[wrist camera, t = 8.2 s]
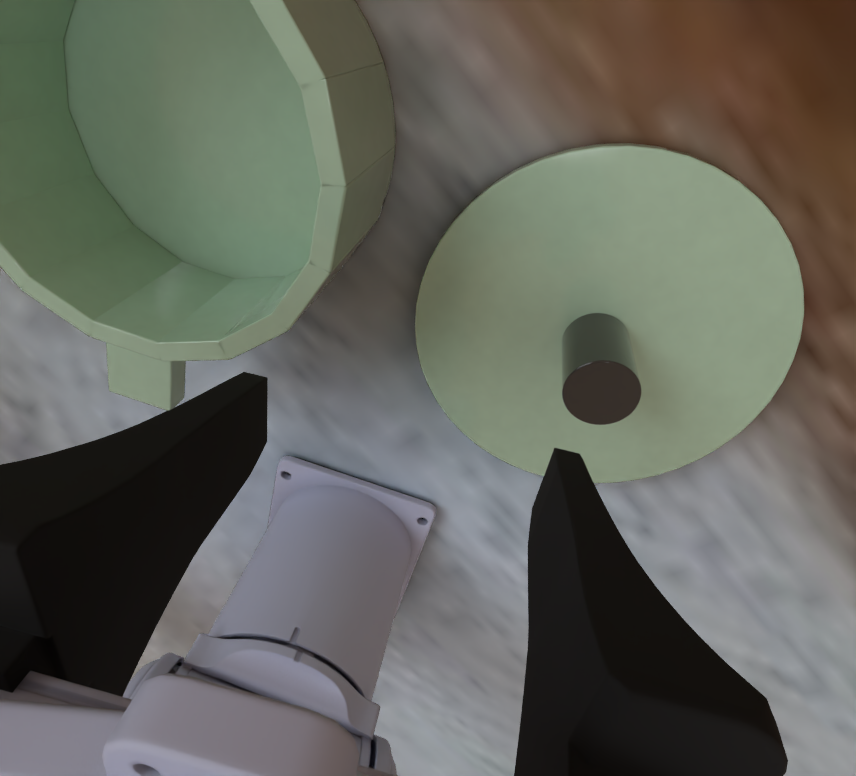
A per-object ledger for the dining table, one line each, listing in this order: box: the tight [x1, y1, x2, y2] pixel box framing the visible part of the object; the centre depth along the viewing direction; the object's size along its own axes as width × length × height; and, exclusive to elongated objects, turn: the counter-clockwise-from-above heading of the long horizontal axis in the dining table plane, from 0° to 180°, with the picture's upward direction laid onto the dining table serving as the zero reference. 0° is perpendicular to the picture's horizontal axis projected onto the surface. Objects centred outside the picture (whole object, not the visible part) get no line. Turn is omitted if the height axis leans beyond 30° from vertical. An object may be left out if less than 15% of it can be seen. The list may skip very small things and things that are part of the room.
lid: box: [415, 143, 804, 483], centre depth 20 cm, size 13×13×5 cm
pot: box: [0, 0, 396, 411], centre depth 18 cm, size 12×18×6 cm
